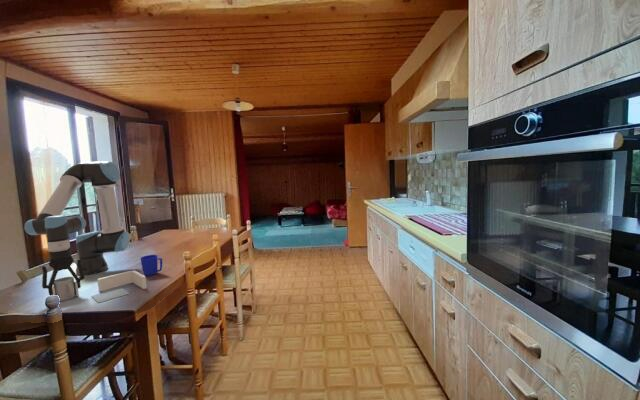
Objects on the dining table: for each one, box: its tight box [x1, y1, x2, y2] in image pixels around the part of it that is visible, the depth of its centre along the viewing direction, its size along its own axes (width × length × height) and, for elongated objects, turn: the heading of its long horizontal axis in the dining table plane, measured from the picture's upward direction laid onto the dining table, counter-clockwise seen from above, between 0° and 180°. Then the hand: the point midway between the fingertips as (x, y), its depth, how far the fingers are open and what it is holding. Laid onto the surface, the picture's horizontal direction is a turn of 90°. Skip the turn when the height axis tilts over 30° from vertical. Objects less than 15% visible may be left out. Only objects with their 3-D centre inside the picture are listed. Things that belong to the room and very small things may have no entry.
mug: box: [140, 254, 163, 277], centre depth 165 cm, size 8×12×10 cm
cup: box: [52, 276, 76, 302], centre depth 135 cm, size 7×10×9 cm
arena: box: [96, 269, 147, 292], centre depth 144 cm, size 17×16×6 cm
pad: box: [91, 287, 130, 304], centre depth 137 cm, size 12×12×1 cm
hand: (66, 298), depth 135 cm, fingers closed on cup, 7 cm apart
